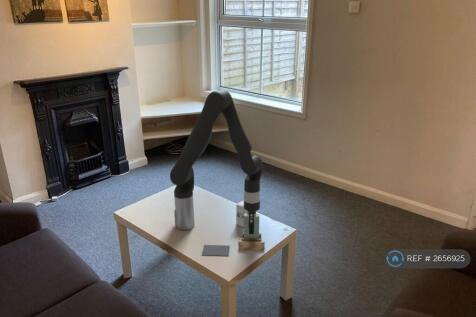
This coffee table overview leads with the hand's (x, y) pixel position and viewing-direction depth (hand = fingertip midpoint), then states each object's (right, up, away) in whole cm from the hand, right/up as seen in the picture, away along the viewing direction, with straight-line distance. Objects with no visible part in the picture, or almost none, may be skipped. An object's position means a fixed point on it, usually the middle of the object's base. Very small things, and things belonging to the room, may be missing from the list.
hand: (251, 231), depth 179 cm
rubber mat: (-16, -7, -6) cm, 19 cm away
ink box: (-3, +1, +18) cm, 18 cm away
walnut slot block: (0, -5, +2) cm, 5 cm away
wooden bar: (0, -7, -5) cm, 8 cm away
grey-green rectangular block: (0, -3, +1) cm, 3 cm away
